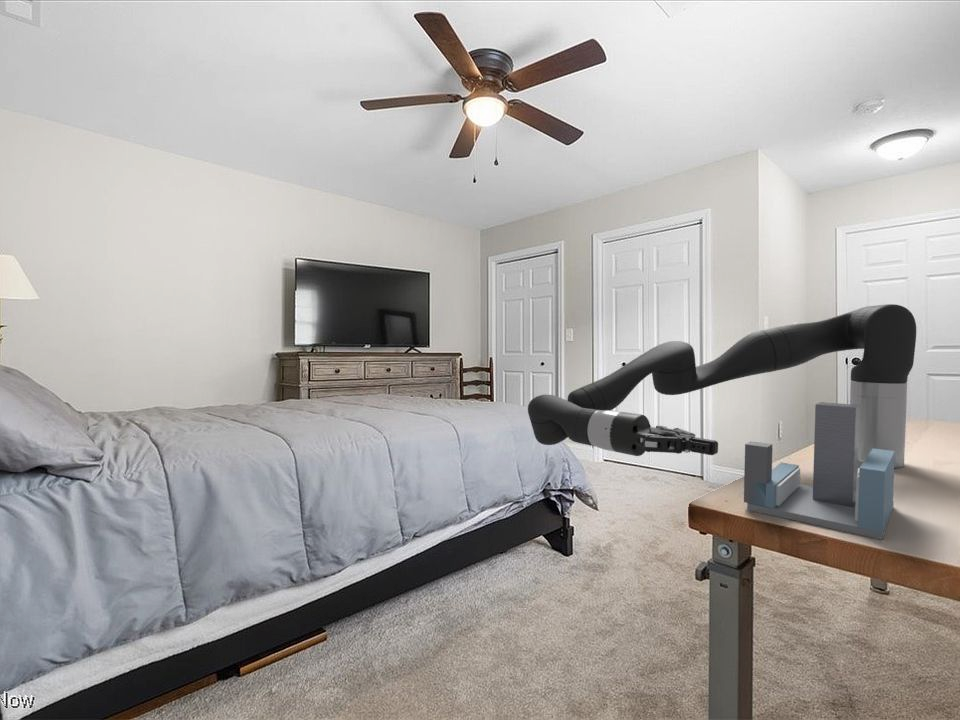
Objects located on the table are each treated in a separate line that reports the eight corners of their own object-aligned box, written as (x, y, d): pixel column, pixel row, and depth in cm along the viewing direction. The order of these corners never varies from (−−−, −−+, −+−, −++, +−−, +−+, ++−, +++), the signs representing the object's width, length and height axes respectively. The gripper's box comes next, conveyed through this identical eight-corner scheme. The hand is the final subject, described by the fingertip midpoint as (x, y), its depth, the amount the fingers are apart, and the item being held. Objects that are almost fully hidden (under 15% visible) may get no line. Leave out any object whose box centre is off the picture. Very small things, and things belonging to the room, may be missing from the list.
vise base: (775, 485, 86) (777, 435, 86) (893, 507, 75) (895, 450, 75) (747, 509, 74) (748, 451, 74) (882, 539, 63) (884, 471, 63)
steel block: (817, 493, 79) (820, 402, 78) (856, 501, 75) (859, 405, 74) (812, 499, 76) (815, 404, 75) (852, 507, 72) (855, 407, 72)
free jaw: (771, 480, 86) (772, 430, 85) (801, 485, 83) (802, 433, 82) (743, 502, 74) (745, 444, 74) (777, 509, 71) (778, 448, 71)
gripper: (600, 414, 85) (701, 429, 73) (636, 408, 94) (731, 421, 82) (598, 457, 85) (699, 479, 73) (634, 446, 95) (729, 464, 82)
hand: (716, 448), depth 78 cm, fingers closed
